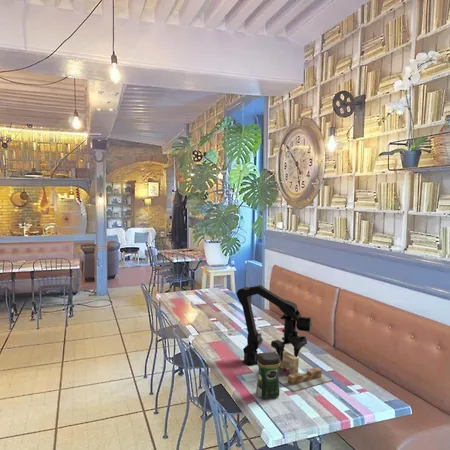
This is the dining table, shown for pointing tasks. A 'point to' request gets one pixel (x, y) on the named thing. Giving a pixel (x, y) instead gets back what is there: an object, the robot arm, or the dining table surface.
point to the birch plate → (289, 362)
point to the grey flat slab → (304, 380)
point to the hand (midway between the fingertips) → (288, 359)
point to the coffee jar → (268, 375)
